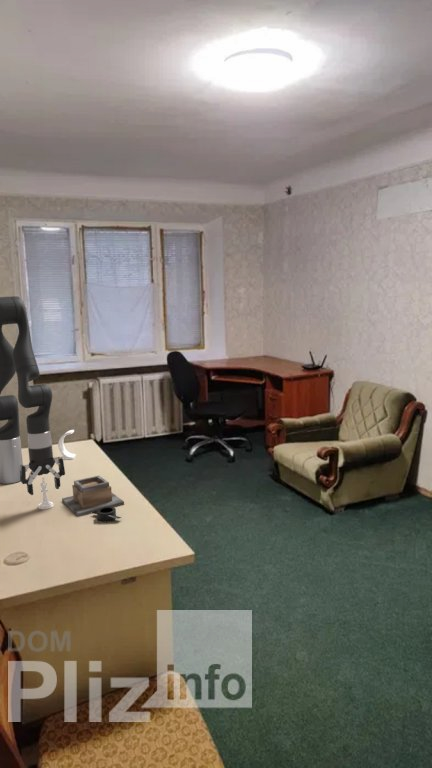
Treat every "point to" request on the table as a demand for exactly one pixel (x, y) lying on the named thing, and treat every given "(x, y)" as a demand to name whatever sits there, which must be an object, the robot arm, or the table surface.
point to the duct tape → (106, 514)
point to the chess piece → (44, 497)
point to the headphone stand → (62, 449)
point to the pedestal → (91, 496)
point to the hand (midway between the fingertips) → (44, 491)
